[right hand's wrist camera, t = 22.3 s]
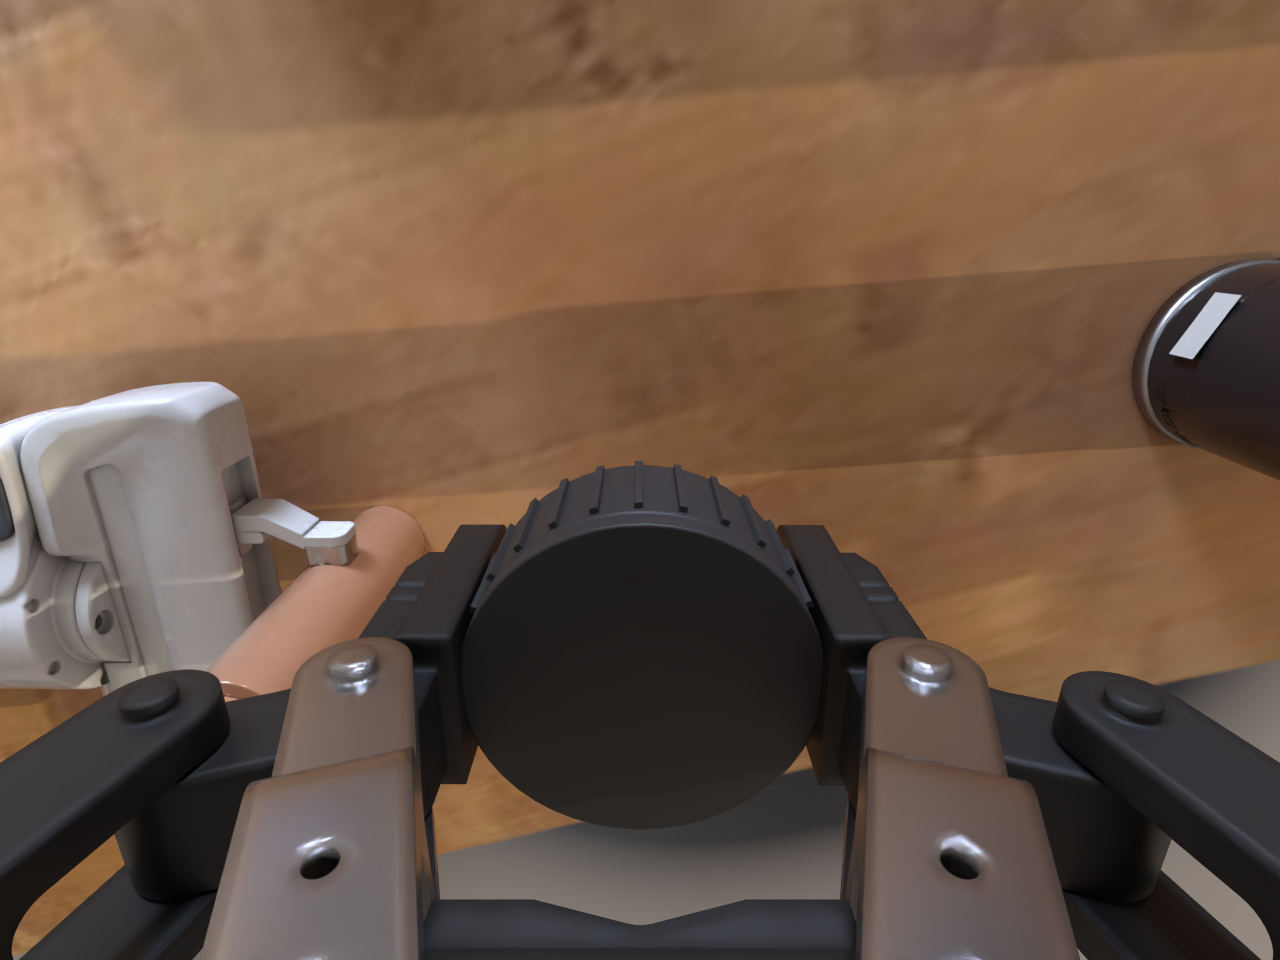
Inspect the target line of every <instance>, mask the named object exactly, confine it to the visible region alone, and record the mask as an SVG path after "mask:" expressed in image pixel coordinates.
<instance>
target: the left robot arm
mask: <svg viewBox="0 0 1280 960" xmlns="http://www.w3.org/2000/svg"><path fill="white" fill-rule="evenodd" d="M271 536H273V537H276V538H278V539H280V540H283V541H285V542H287V543H290V544H292V545H294V546H297V547H299V548H301V549H304V550H305V551H306V555H307V560H308V564H309V565H317V566H320V565H324V564H326V563H329V564H331V565H335V566H339V565H344V564H347V563H349V562H350V561H351V560H352V559H353V556H354V555H357V553H358V545H357V537H356V529H355V523H353V522H350V521H320V519H319V518H317V517H315V516H314V515H312V514H310V513H308V512H306V511H304V510H303V509H301V508H299V507H297V506H295V505H293V504H291V503H290V502H288V501H286V500H284V499H282V498H262V493H261V488H260V483H259V478H258V473H257V468H256V463H255V458H254V453H253V448H252V443H251V438H250V433H249V428H248V424H247V418H246V413H245V408H244V404H243V401H242V400H241V398H240V397H238V396H237V395H236V394H234V393H233V392H231V391H230V390H228V389H227V388H225V387H224V386H222V385H220V384H219V383H216V382H185V383H172V384H163V385H155V386H149V387H142V388H137V389H132V390H128V391H124V392H121V393H117V394H114V395H111V396H107V397H104V398H100V399H97V400H94V401H91V402H88V403H85V404H82V405H77V406H70V407H62V408H57V409H51V410H47V411H42V412H38V413H34V414H30V415H27V416H23V417H20V418H17V419H14V420H11V421H8V422H6V423H3V424H0V689H92V688H96V687H100V690H101V693H102V696H103V697H104V696H105V695H107V694H109V693H111V692H112V691H114V690H116V689H118V688H120V687H122V686H124V685H126V684H128V683H131V682H133V681H136V680H138V679H141V678H144V677H147V676H150V675H154V674H158V673H162V672H167V671H173V670H183V669H194V670H202V671H205V670H206V669H207V668H208V667H209V666H210V665H211V664H212V663H213V662H214V661H215V660H216V659H217V658H218V657H219V656H220V655H221V654H222V653H223V652H224V651H225V650H226V649H227V648H228V647H229V646H230V645H231V644H232V643H233V642H234V641H235V640H236V639H237V638H238V637H239V636H240V635H241V634H242V633H243V632H244V631H245V630H246V629H247V628H248V627H249V625H250V624H251V623H252V622H253V621H254V620H255V619H256V618H257V617H258V616H259V615H260V614H261V613H262V612H263V611H264V610H265V609H266V608H267V607H268V606H269V605H270V604H271V603H272V602H273V601H274V600H275V599H276V598H277V597H278V596H279V595H280V594H281V593H282V592H281V587H280V582H279V577H278V572H277V567H276V562H275V557H274V552H273V547H272V542H271Z"/></svg>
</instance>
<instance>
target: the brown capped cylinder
mask: <svg viewBox="0 0 1280 960" xmlns="http://www.w3.org/2000/svg"><path fill="white" fill-rule="evenodd" d="M352 522H353V523H355V529H356V537H357V545H358V553H357V555H354V556H353V559H352V560H351V561H350V562H349V563H347V564H344V565H339V566H335V565H331V564H329V563H326V564H324V565H320V566H317V565H309V566H308V567H307V568H306V569H305V570H304V571H303V572H302V573H301V574H300V575H299V576H298V577H297V578H296V579H295V580H294V581H293V582H292V583H291V584H290V585H289V586H288V587H287V588H286V589H285V590H284V591H283V592H282V593H281V594H280V595H279V596H278V597H277V598H276V599H275V600H274V601H273V602H272V603H271V604H270V605H269V606H268V607H267V608H266V609H265V610H264V611H263V612H262V613H261V614H260V615H259V616H258V617H257V618H256V619H255V620H254V621H253V622H252V623H251V624H250V625H249V627H248V628H247V629H246V630H245V631H244V632H243V633H242V634H241V635H240V636H239V637H238V638H237V639H236V640H235V641H234V642H233V643H232V644H231V645H230V646H229V647H228V648H227V649H226V650H225V651H224V652H223V653H222V654H221V655H220V656H219V657H218V658H217V659H216V660H215V661H214V662H213V663H212V664H211V665H210V666H209V667H208V668H207V669H206V670H205V671H206V672H209V673H211V674H213V675H215V676H216V677H217V678H218V679H219V681H220V683H221V687H222V691H223V695H224V699H225V702H228V701H233V700H238V699H243V698H248V697H253V696H258V695H263V694H268V693H273V692H278V691H282V690H286V689H290V688H291V687H292V682H293V678H294V676H295V673H296V672H297V670H298V669H299V667H300V666H301V665H302V664H303V663H304V662H305V661H306V660H308V659H309V658H310V657H311V656H313V655H315V654H316V653H318V652H319V651H321V650H323V649H325V648H327V647H330V646H332V645H335V644H338V643H341V642H344V641H348V640H353V639H358V638H359V636H360V635H361V633H362V632H363V630H364V629H365V627H366V626H367V624H368V623H369V621H370V620H371V619H372V617H373V616H374V614H375V613H376V611H377V610H378V608H379V607H380V605H381V604H382V602H383V601H386V597H387V595H388V594H389V592H390V591H391V589H392V588H393V587H395V586H396V582H397V580H398V579H399V577H400V576H401V575H402V573H403V572H404V570H405V569H406V567H407V566H409V565H410V564H412V563H413V562H415V561H416V560H418V559H419V558H421V557H422V556H423V554H424V550H425V540H424V535H423V532H422V530H421V528H420V526H419V525H418V523H417V522H416V521H415V520H414V519H413V518H412V517H411V516H410V515H408V514H407V513H405V512H403V511H402V510H399V509H397V508H393V507H388V506H377V507H372V508H369V509H367V510H365V511H363V512H361V513H360V514H359V515H358V516H357V517H356V518H355V519H354V520H353V521H352Z"/></svg>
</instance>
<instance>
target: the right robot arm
mask: <svg viewBox="0 0 1280 960" xmlns="http://www.w3.org/2000/svg"><path fill="white" fill-rule="evenodd" d="M1132 381H1133V391H1134V396H1135V400H1136V403H1137V405H1138V408H1139V410H1140V412H1141V413H1142V415H1143V417H1144V418H1145V419H1146V421H1147V422H1148V423H1149V424H1150V425H1151V426H1152V427H1153V428H1154V429H1155V430H1157V431H1158V432H1159V433H1161V434H1162V435H1164V436H1166V437H1168V438H1170V439H1173V440H1175V441H1177V442H1180V443H1182V444H1185V445H1187V446H1191V447H1194V448H1199V449H1204V450H1206V451H1209V452H1211V453H1214V454H1216V455H1218V456H1221V457H1223V458H1226V459H1228V460H1230V461H1232V462H1235V463H1237V464H1240V465H1242V466H1245V467H1247V468H1250V469H1252V470H1255V471H1257V472H1260V473H1262V474H1265V475H1268V476H1270V477H1273V478H1275V479H1278V480H1280V258H1278V259H1276V260H1262V259H1254V260H1242V261H1237V262H1232V263H1228V264H1225V265H1222V266H1219V267H1217V268H1214V269H1212V270H1209V271H1207V272H1205V273H1203V274H1201V275H1200V276H1198V277H1196V278H1195V279H1193V280H1191V281H1190V282H1189V283H1187V284H1186V285H1184V286H1183V287H1182V288H1181V289H1179V290H1178V291H1177V292H1176V293H1175V294H1174V295H1173V296H1172V297H1171V298H1169V299H1168V300H1167V301H1166V303H1165V304H1164V305H1163V306H1162V307H1161V308H1160V309H1159V311H1158V312H1157V313H1156V315H1155V316H1154V317H1153V319H1152V320H1151V322H1150V324H1149V325H1148V327H1147V329H1146V330H1145V332H1144V334H1143V336H1142V339H1141V341H1140V343H1139V346H1138V349H1137V352H1136V356H1135V360H1134V365H1133V377H1132ZM505 532H506V527H505V525H460V527H459V528H458V530H457V531H456V533H455V535H454V536H453V538H452V540H451V541H450V543H449V545H448V546H447V548H446V550H445V551H444V552H429V553H427V554H426V555H424V556H422V557H421V558H419V559H418V560H416V561H415V562H413V563H412V564H410V565H409V566H407V567H406V569H405V570H404V572H403V573H402V575H401V576H400V577H399V579H398V580H397V582H396V586H395V587H393V588H392V589H391V591H390V592H389V594H388V595H387V597H386V601H383V602H382V604H381V605H380V607H379V608H378V610H377V611H376V613H375V614H374V616H373V617H372V619H371V620H370V621H369V623H368V624H367V626H366V627H365V629H364V630H363V632H362V633H361V635H360V636H359V638H358V639H353V640H348V641H344V642H341V643H338V644H335V645H332V646H330V647H327V648H325V649H323V650H321V651H319V652H318V653H316V654H315V655H313V656H311V657H310V658H309V659H308V660H306V661H305V662H304V663H303V664H302V665H301V666H300V667H299V669H298V670H297V672H296V673H295V676H294V678H293V682H292V687H291V688H290V689H286V690H282V691H278V692H273V693H268V694H263V695H258V696H253V697H248V698H243V699H238V700H233V701H228V702H225V699H224V695H223V691H222V687H221V683H220V681H219V679H218V678H217V677H216V676H215V675H213V674H211V673H209V672H206V671H202V670H194V669H183V670H173V671H167V672H162V673H158V674H154V675H150V676H147V677H144V678H141V679H138V680H136V681H133V682H131V683H128V684H126V685H124V686H122V687H120V688H118V689H116V690H114V691H112V692H111V693H109V694H107V695H105V696H104V697H102V698H101V699H99V700H98V701H96V702H95V703H93V704H91V705H90V706H88V707H87V708H85V709H84V710H82V711H81V712H79V713H77V714H76V715H74V716H73V717H71V718H70V719H68V720H66V721H65V722H63V723H62V724H60V725H59V726H57V727H56V728H54V729H52V730H51V731H49V732H48V733H46V734H45V735H43V736H41V737H40V738H38V739H37V740H35V741H34V742H32V743H31V744H29V745H27V746H26V747H24V748H23V749H21V750H20V751H18V752H17V753H15V754H13V755H12V756H10V757H9V758H7V759H6V760H4V761H2V762H1V763H0V960H13V957H12V941H13V937H14V934H15V931H16V929H17V927H18V925H19V923H20V921H21V920H22V918H23V916H24V915H25V913H26V912H27V911H28V909H29V908H30V907H31V906H32V904H33V903H34V902H35V901H36V900H37V899H38V898H39V897H40V896H41V895H42V894H43V893H44V892H46V891H47V890H48V889H49V888H50V887H52V886H53V885H54V884H55V883H56V882H58V881H59V880H60V879H61V878H62V877H64V876H65V875H66V874H67V873H68V872H70V871H71V870H72V869H73V868H74V867H75V866H77V865H78V864H79V863H80V862H81V861H83V860H84V859H85V858H86V857H87V856H89V855H90V854H91V853H92V852H93V851H95V850H96V849H97V848H98V847H99V846H100V845H102V844H103V843H104V842H105V841H106V840H108V839H109V838H110V837H111V836H112V835H114V834H115V837H116V840H117V843H118V846H119V848H120V851H121V854H122V857H123V860H124V863H125V865H124V866H123V867H122V868H121V869H120V870H119V871H118V872H116V873H115V874H114V875H113V876H112V877H111V878H110V879H109V880H107V881H106V882H105V883H104V884H103V885H102V886H101V887H100V888H99V889H97V890H96V891H95V892H94V893H93V894H92V895H91V896H90V897H88V898H87V899H86V900H85V901H84V902H83V903H82V904H81V905H80V906H78V907H77V908H76V909H75V910H74V911H73V912H72V913H71V914H70V915H68V916H67V917H66V918H65V919H64V920H63V921H62V922H61V923H59V924H58V925H57V926H56V927H55V928H54V929H53V930H52V931H51V932H49V933H48V934H47V935H46V936H45V937H44V938H43V939H42V940H40V941H39V942H38V943H37V944H36V945H35V946H34V947H33V948H32V949H30V950H29V951H28V952H27V953H26V954H25V955H24V956H23V957H21V958H20V959H19V960H192V959H193V958H194V957H195V956H196V955H197V954H198V953H199V951H200V950H201V949H202V948H203V949H202V953H201V957H200V960H1080V957H1079V953H1078V949H1079V950H1080V951H1081V953H1082V954H1083V955H1084V956H1085V957H1086V958H1087V959H1088V960H1261V959H1260V958H1258V957H1257V956H1256V955H1255V954H1254V953H1253V952H1252V951H1251V950H1250V949H1248V948H1247V947H1246V946H1245V945H1244V944H1243V943H1242V942H1241V941H1240V940H1238V939H1237V938H1236V937H1235V936H1234V935H1233V934H1232V933H1231V932H1229V931H1228V930H1227V929H1226V928H1225V927H1224V926H1223V925H1222V924H1220V923H1219V922H1218V921H1217V920H1216V919H1215V918H1214V917H1213V916H1212V915H1211V914H1209V913H1208V912H1207V911H1206V910H1205V909H1204V908H1203V907H1202V906H1200V905H1199V904H1198V903H1197V902H1196V901H1195V900H1194V899H1193V898H1191V897H1190V896H1189V895H1188V894H1187V893H1186V892H1185V891H1184V890H1183V889H1181V888H1180V887H1179V886H1178V885H1177V884H1176V883H1175V882H1174V881H1173V880H1171V879H1170V878H1169V877H1168V876H1167V875H1166V874H1165V873H1164V872H1162V871H1161V867H1162V864H1163V861H1164V859H1165V856H1166V853H1167V850H1168V847H1169V845H1170V842H1171V839H1172V840H1174V841H1175V842H1176V843H1177V844H1178V845H1180V846H1181V847H1182V848H1183V849H1184V850H1186V851H1187V852H1188V853H1189V854H1190V855H1192V856H1193V857H1194V858H1195V859H1196V860H1197V861H1199V862H1200V863H1201V864H1202V865H1203V866H1205V867H1206V868H1207V869H1208V870H1209V871H1211V872H1212V873H1213V874H1214V875H1215V876H1216V877H1218V878H1219V879H1220V880H1221V881H1222V882H1224V883H1225V884H1226V885H1227V886H1228V887H1230V888H1231V889H1232V890H1233V891H1234V892H1236V893H1237V894H1238V895H1239V896H1240V897H1241V898H1242V899H1244V900H1245V901H1246V902H1247V903H1248V904H1249V905H1250V906H1251V908H1252V909H1253V910H1254V911H1255V912H1256V914H1257V915H1258V916H1259V918H1260V919H1261V921H1262V922H1263V924H1264V926H1265V927H1266V929H1267V932H1268V934H1269V936H1270V939H1271V942H1272V946H1273V960H1280V763H1279V762H1278V761H1276V760H1274V759H1273V758H1271V757H1270V756H1268V755H1267V754H1265V753H1263V752H1262V751H1260V750H1259V749H1257V748H1256V747H1254V746H1253V745H1251V744H1249V743H1248V742H1246V741H1245V740H1243V739H1242V738H1240V737H1239V736H1237V735H1235V734H1234V733H1232V732H1231V731H1229V730H1228V729H1226V728H1224V727H1223V726H1221V725H1220V724H1218V723H1217V722H1215V721H1213V720H1212V719H1210V718H1209V717H1207V716H1206V715H1204V714H1203V713H1201V712H1200V711H1198V710H1196V709H1195V708H1193V707H1192V706H1190V705H1189V704H1187V703H1185V702H1184V701H1182V700H1181V699H1179V698H1178V697H1176V696H1174V695H1172V694H1171V693H1169V692H1167V691H1165V690H1163V689H1161V688H1159V687H1157V686H1155V685H1152V684H1150V683H1148V682H1145V681H1142V680H1139V679H1136V678H1133V677H1129V676H1125V675H1122V674H1116V673H1111V672H1101V671H1087V672H1080V673H1076V674H1073V675H1071V676H1069V677H1068V678H1067V679H1066V680H1065V681H1064V682H1063V684H1062V687H1061V691H1060V695H1059V699H1058V702H1053V701H1048V700H1043V699H1038V698H1033V697H1028V696H1022V695H1017V694H1012V693H1008V692H1004V691H999V690H996V689H993V688H990V687H988V682H987V678H986V676H985V673H984V672H983V670H982V669H981V667H980V666H979V665H978V664H977V663H976V662H975V661H974V660H972V659H971V658H970V657H969V656H967V655H965V654H964V653H962V652H961V651H959V650H957V649H955V648H953V647H950V646H948V645H945V644H942V643H939V642H936V641H932V640H927V638H926V637H925V636H924V634H923V633H922V631H921V630H920V628H919V627H918V625H917V624H916V623H915V621H914V620H913V618H912V617H911V615H910V614H909V612H908V611H907V610H906V608H905V607H904V605H903V604H902V602H901V601H898V597H897V595H896V594H895V592H894V591H893V589H892V588H891V587H889V584H888V582H887V581H886V579H885V578H884V576H883V575H882V573H881V572H880V571H879V569H878V568H877V567H876V566H875V565H873V564H871V563H870V562H868V561H867V560H865V559H864V558H862V557H861V556H859V555H858V554H856V553H840V552H839V550H838V548H837V547H836V545H835V544H834V542H833V540H832V539H831V537H830V535H829V534H828V532H827V530H826V529H825V527H824V526H823V525H779V527H778V529H777V533H778V535H779V537H780V540H781V542H782V544H783V546H784V549H786V548H788V550H789V552H790V554H791V557H792V559H793V561H794V563H795V565H796V567H797V570H798V572H799V574H800V576H801V578H802V581H803V583H804V585H805V587H806V589H807V591H808V594H809V596H810V598H811V600H812V603H813V605H814V607H812V608H809V609H808V610H809V612H810V614H811V617H812V619H813V621H814V624H815V626H816V628H817V631H818V633H819V637H820V641H821V644H822V648H823V652H824V663H823V674H822V683H821V692H820V701H819V710H818V718H817V723H816V725H815V728H814V730H813V733H812V735H811V736H810V738H809V740H808V742H807V744H806V747H807V750H808V753H809V756H810V759H811V762H812V766H813V769H814V772H815V775H816V778H817V781H818V784H819V785H845V787H846V790H847V793H848V796H849V799H848V807H847V814H846V821H845V834H844V849H843V863H842V878H841V892H840V900H743V901H739V902H735V903H731V904H727V905H723V906H719V907H716V908H712V909H708V910H704V911H700V912H696V913H692V914H688V915H684V916H681V917H677V918H673V919H669V920H665V921H661V922H657V923H653V924H648V925H632V924H627V923H623V922H619V921H615V920H611V919H607V918H603V917H599V916H596V915H592V914H588V913H584V912H580V911H576V910H572V909H568V908H564V907H561V906H557V905H553V904H549V903H545V902H541V901H537V900H440V892H439V878H438V863H437V848H436V834H435V821H434V814H433V807H432V805H433V803H434V801H435V798H436V795H437V792H438V789H439V787H440V784H466V783H467V779H468V776H469V773H470V770H471V766H472V763H473V760H474V757H475V754H476V750H477V747H478V744H477V742H476V740H475V737H474V735H473V733H472V731H471V729H470V727H469V725H468V722H467V715H466V707H465V698H464V688H463V679H462V669H461V652H462V646H463V642H464V639H465V636H466V633H467V630H468V627H469V624H470V622H471V620H472V617H473V615H474V614H471V613H469V609H470V606H471V604H472V602H473V599H474V597H475V595H476V593H477V590H478V588H479V586H480V584H481V581H482V579H483V577H484V575H485V572H486V570H487V568H488V566H489V563H490V561H491V559H492V556H493V554H494V553H497V551H498V548H499V546H500V544H501V542H502V539H503V537H504V535H505ZM1077 948H1078V949H1077Z"/></svg>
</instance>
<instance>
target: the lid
mask: <svg viewBox="0 0 1280 960" xmlns="http://www.w3.org/2000/svg"><path fill="white" fill-rule="evenodd" d="M812 607H814V605H813V603H812V600H811V598H810V596H809V594H808V591H807V589H806V587H805V585H804V583H803V581H802V578H801V576H800V574H799V572H798V570H797V567H796V565H795V563H794V561H793V559H792V557H791V554H790V552H789V550H788V548H786V549H784V546H783V544H782V542H781V540H780V537H779V535H778V533H777V531H776V529H775V526H774V524H773V523H772V521H771V520H770V519H769V520H767V521H766V522H765V521H764V520H763V519H762V517H761V516H760V515H759V514H758V513H757V511H755V510H754V509H753V507H752V505H751V502H750V500H749V498H748V497H747V496H746V495H744V494H743V495H742V496H741V497H739V496H738V495H736V494H735V493H733V492H732V491H730V490H729V489H727V488H726V487H724V486H722V485H720V484H719V482H718V478H716V477H714V476H711V477H710V478H709V479H708V478H705V477H702V476H699V475H697V474H694V473H691V472H688V471H683V470H682V467H681V465H676V464H674V467H673V468H669V467H661V466H649V465H643V462H642V461H635V466H622V467H616V468H610V469H604V466H599V467H597V468H596V472H594V473H590V474H587V475H584V476H581V477H579V478H577V479H575V480H572V481H570V482H569V480H568V479H567V478H566V479H564V480H562V481H561V482H560V486H559V488H557V489H555V490H554V491H552V492H550V493H549V494H547V495H546V496H545V497H544V498H542V499H541V500H540V501H538V500H537V499H536V498H535V499H533V500H532V501H531V502H530V505H529V507H528V510H527V512H526V514H525V515H524V516H523V517H522V518H521V519H520V520H519V522H518V523H517V524H516V526H514V525H513V524H510V525H509V527H508V528H507V530H506V532H505V535H504V537H503V539H502V542H501V544H500V546H499V548H498V551H497V553H494V554H493V556H492V559H491V561H490V563H489V566H488V568H487V570H486V572H485V575H484V577H483V579H482V581H481V584H480V586H479V588H478V590H477V593H476V595H475V597H474V599H473V602H472V604H471V606H470V609H469V613H471V614H474V615H473V617H472V620H471V622H470V624H469V627H468V630H467V633H466V636H465V639H464V642H463V646H462V652H461V669H462V679H463V688H464V698H465V707H466V715H467V722H468V725H469V727H470V729H471V731H472V733H473V735H474V737H475V740H476V742H477V744H478V745H479V747H480V748H481V750H482V751H483V753H484V754H485V755H486V757H487V758H488V760H489V761H490V762H491V763H492V765H493V766H494V767H495V768H496V769H497V770H498V771H499V772H500V773H501V775H502V776H503V777H505V778H506V779H507V780H508V781H509V782H510V783H511V784H513V785H514V786H515V787H516V788H517V789H518V790H520V791H521V792H523V793H524V794H526V795H527V796H529V797H530V798H532V799H533V800H535V801H536V802H538V803H540V804H542V805H544V806H546V807H548V808H550V809H552V810H553V811H556V812H558V813H561V814H563V815H566V816H569V817H571V818H574V819H577V820H581V821H584V822H588V823H592V824H595V825H601V826H607V827H613V828H623V829H638V830H639V829H662V828H670V827H678V826H683V825H688V824H692V823H696V822H700V821H704V820H707V819H710V818H712V817H715V816H718V815H721V814H724V813H726V812H728V811H730V810H732V809H734V808H736V807H738V806H740V805H742V804H744V803H746V802H747V801H749V800H751V799H752V798H754V797H755V796H757V795H759V794H760V793H761V792H763V791H764V790H765V789H767V788H768V787H769V786H770V785H772V784H773V783H774V782H775V781H777V779H778V778H779V777H780V776H781V775H782V774H783V773H784V772H785V771H786V770H787V769H788V768H789V767H790V766H791V765H792V764H793V762H794V761H795V760H796V758H797V757H798V756H799V754H800V753H801V752H802V751H803V749H804V747H805V745H806V744H807V742H808V740H809V738H810V736H811V735H812V733H813V730H814V728H815V725H816V723H817V718H818V710H819V701H820V692H821V683H822V674H823V663H824V652H823V648H822V644H821V641H820V637H819V633H818V631H817V628H816V626H815V624H814V621H813V619H812V617H811V614H810V612H809V610H808V609H809V608H812Z"/></svg>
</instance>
